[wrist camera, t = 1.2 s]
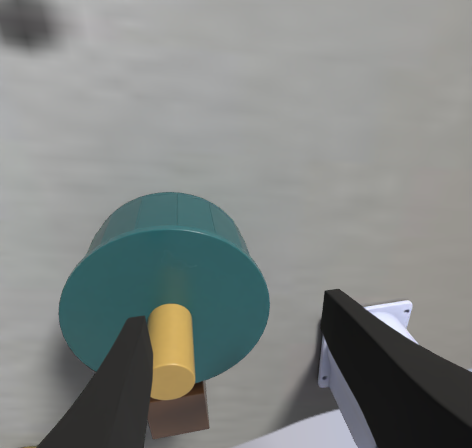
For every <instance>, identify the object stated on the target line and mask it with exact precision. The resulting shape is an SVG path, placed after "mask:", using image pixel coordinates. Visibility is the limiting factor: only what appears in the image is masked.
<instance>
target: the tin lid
mask: <svg viewBox="0 0 472 448" xmlns="http://www.w3.org/2000/svg"><path fill="white" fill-rule="evenodd" d="M269 308H270V301H269V293H268V289H267V285H266V282H265V280H264V277H263V275H262V273H261V271H260V269H259V268H258V266H257V265H256V263H255V262H254V260H253V259H252V258H251V257H250V256H249V255H248V254H247V253H246V252H245V251H244V250H243V249H241V248H240V247H239V246H238V245H236V244H235V243H233V242H231V241H230V240H228V239H226V238H224V237H222V236H220V235H218V234H215V233H213V232H210V231H206V230H203V229H200V228H194V227H189V226H179V225H160V226H150V227H144V228H139V229H135V230H132V231H128V232H125V233H122V234H120V235H118V236H115V237H113V238H111V239H109V240H107V241H105V242H104V243H102V244H100V245H99V246H97V247H96V248H95V249H93V250H92V251H91V252H89V253H88V254H87V255H86V256H85V257H84V258H83V259H82V260H81V261H80V262H79V263H78V264H77V265H76V267H75V268H74V270H73V271H72V273H71V274H70V276H69V278H68V280H67V282H66V284H65V286H64V289H63V291H62V294H61V298H60V302H59V322H60V327H61V330H62V333H63V336H64V338H65V340H66V342H67V344H68V346H69V347H70V349H71V350H72V351H73V353H74V354H75V355H76V356H77V357H78V358H79V359H80V360H81V361H82V362H83V363H84V364H85V365H87V366H88V367H89V368H91V369H92V370H94V371H95V372H97V370H98V369H99V367H100V365H101V364H102V362H103V361H104V359H105V357H106V356H107V354H108V352H109V351H110V349H111V348H112V346H113V344H114V342H115V341H116V339H117V337H118V335H119V333H120V331H121V330H122V328H123V326H124V324H125V322H126V320H127V319H128V318H130V317H137V316H145V318H146V322H147V327H148V331H149V336H150V340H151V345H152V350H153V381H152V389H151V396H150V397H152V398H154V399H158V400H173V399H177V398H180V397H182V396H184V395H186V394H187V393H188V392H189V391H190V390H191V389H192V388H193V386H194V384H195V383H198V382H202V381H205V380H207V379H210V378H212V377H215V376H217V375H219V374H221V373H223V372H225V371H226V370H228V369H229V368H231V367H233V366H234V365H236V364H237V363H238V362H239V361H241V360H242V359H243V358H244V357H245V356H246V355H247V354H248V353H249V352H250V351H251V350H252V349H253V347H254V346H255V345H256V344H257V342H258V341H259V339H260V337H261V335H262V334H263V331H264V329H265V327H266V324H267V320H268V316H269Z"/></svg>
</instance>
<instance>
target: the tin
mask: <svg viewBox="0 0 472 448" xmlns="http://www.w3.org/2000/svg"><path fill="white" fill-rule="evenodd" d="M160 225H179V226H189V227H194V228H200V229H203V230H206V231H210V232H213V233H215V234H218V235H220V236H222V237H224V238H226V239H228V240H230V241H231V242H233V243H235V244H236V245H238V246H239V247H240V248H241V249H243V250H244V251H245V252H246V253H247V254H248V255H249V252H248V249H247V247H246V244H245V242H244V240H243V238H242V236H241V234H240V232H239V230H238V228H237V226H236V225H235V223H234V221H233V220H232V219H231V218H230V217H229V216H228V215H227V214H226V213H225V212H224V211H223V210H222V209H220V208H219V207H217V206H216V205H214V204H213V203H211V202H209V201H207V200H205V199H203V198H200V197H197V196H194V195H189V194H184V193H174V192H165V193H155V194H149V195H146V196H143V197H139V198H137V199H134V200H132V201H130V202H128V203H126V204H125V205H123V206H121V207H120V208H119V209H117V210H116V211H115V212H114V213H112V214H111V215H110V216H109V218H108V219H107V220H106V221H105V222H104V224H103V225H102V227H101V228H100V230H99V231H98V232H97V233H96V235H95V237H94V239H93V241H92V243H91V245H90V247H89V250H88V252H87V254H88V253H89V252H91V251H92V250H93V249H95V248H96V247H97V246H99V245H100V244H102V243H104V242H105V241H107V240H109V239H111V238H113V237H115V236H118V235H120V234H122V233H125V232H128V231H132V230H135V229H139V228H144V227H150V226H160ZM87 254H86V255H87ZM249 256H250V255H249Z"/></svg>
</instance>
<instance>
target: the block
mask: <svg viewBox="0 0 472 448" xmlns="http://www.w3.org/2000/svg"><path fill="white" fill-rule="evenodd" d="M147 420H148V424H149V427H150V431H151V434H152V437H153V439H158V438H163V437H168V436H173V435H179V434H184V433H189V432H194V431H200V430H205V429H209V418H208V406H207V395H206V383H205V381H202V382H198V383H195V384H194V386H193V388H192V389H191V390H190V391H189V392H188V393H187V394H186V395H184V396H182V397H180V398H177V399H173V400H158V399H154V398H152V397H150V404H149V411H148V418H147Z"/></svg>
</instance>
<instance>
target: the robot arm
mask: <svg viewBox="0 0 472 448" xmlns="http://www.w3.org/2000/svg"><path fill="white" fill-rule="evenodd" d="M412 306H413V305H412V303H411V302H410V301H408V300H406V301H399V302H393V303H386V304H380V305H374V306H367V307H362V306H361V305H360V304H358V303H357V302H356V301H355V300H353V299H352V298H351V297H349V296H348V295H347V294H345V293H344V292H343V291H341V290H340V289H334V290H327V291H325V294H324V302H323V311H322V320H321V330H322V333H323V338H322V347H321V356H320V366H319V375H318V385H319V387H321V388H325V387H330V389H331V391H332V394H333V396H334V398H335V400H336V402H337V404H338V407H339V409H340V411H341V413H342V415H343V417H344V420H345V422H346V424H347V426H348V428H349V430H350V433H351V435H352V437H353V439H354V441H355V443H356V445H357V446H358V448H472V372H470V371H468V370H466V369H464V368H462V367H460V366H458V365H456V364H454V363H452V362H450V361H448V360H446V359H444V358H442V357H440V356H438V355H436V354H434V353H432V352H431V351H429V350H427V349H425V348H424V347H422V346H420V345H419V344H418V343H417V342H416V341H415V339H414V338H413V337H412V336H411V335H410V333H409V332H408V331H407V330H406V329H407V325H408V321H409V317H410V314H411V310H412ZM152 381H153V350H152V345H151V340H150V336H149V331H148V327H147V322H146V318H145V316H137V317H130V318H128V319H127V320H126V322H125V324H124V326H123V328H122V330H121V331H120V333H119V335H118V337H117V339H116V341H115V342H114V344H113V346H112V348H111V349H110V351H109V352H108V354H107V356H106V357H105V359H104V361H103V362H102V364H101V365H100V367H99V369H98V370H97V372H96V373H95V374H94V376H93V377H92V379H91V380H90V382H89V383H88V385H87V386H86V388H85V389H84V390H83V392H82V393H81V394H80V396H79V397H78V399H77V400H76V401H75V402H74V404H73V405H72V406H71V408H70V409H69V410H68V411H67V413H66V414H65V415H64V416H63V417H62V419H61V420H60V421H59V422H58V423H57V424H56V426H55V427H54V428H53V429H52V430H51V431H50V433H49V434H48V435H47V436H46V437H45V438H44V439H43V440H42V442H41V443H40V444H39V445H38V446H37V447H36V448H144V440H145V433H146V426H147V418H148V411H149V404H150V396H151V389H152Z"/></svg>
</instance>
